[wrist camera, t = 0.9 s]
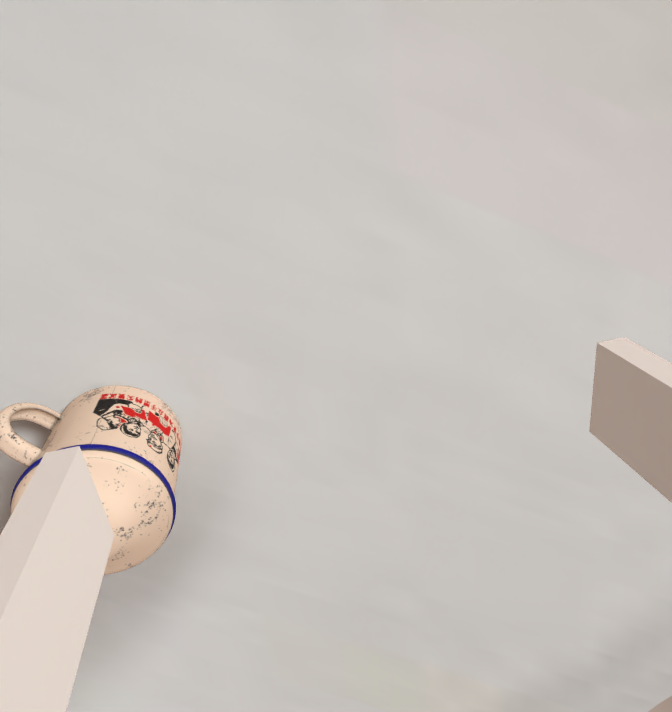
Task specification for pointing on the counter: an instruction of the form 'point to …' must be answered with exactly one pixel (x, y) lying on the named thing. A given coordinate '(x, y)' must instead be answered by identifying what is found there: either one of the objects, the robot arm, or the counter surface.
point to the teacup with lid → (111, 461)
